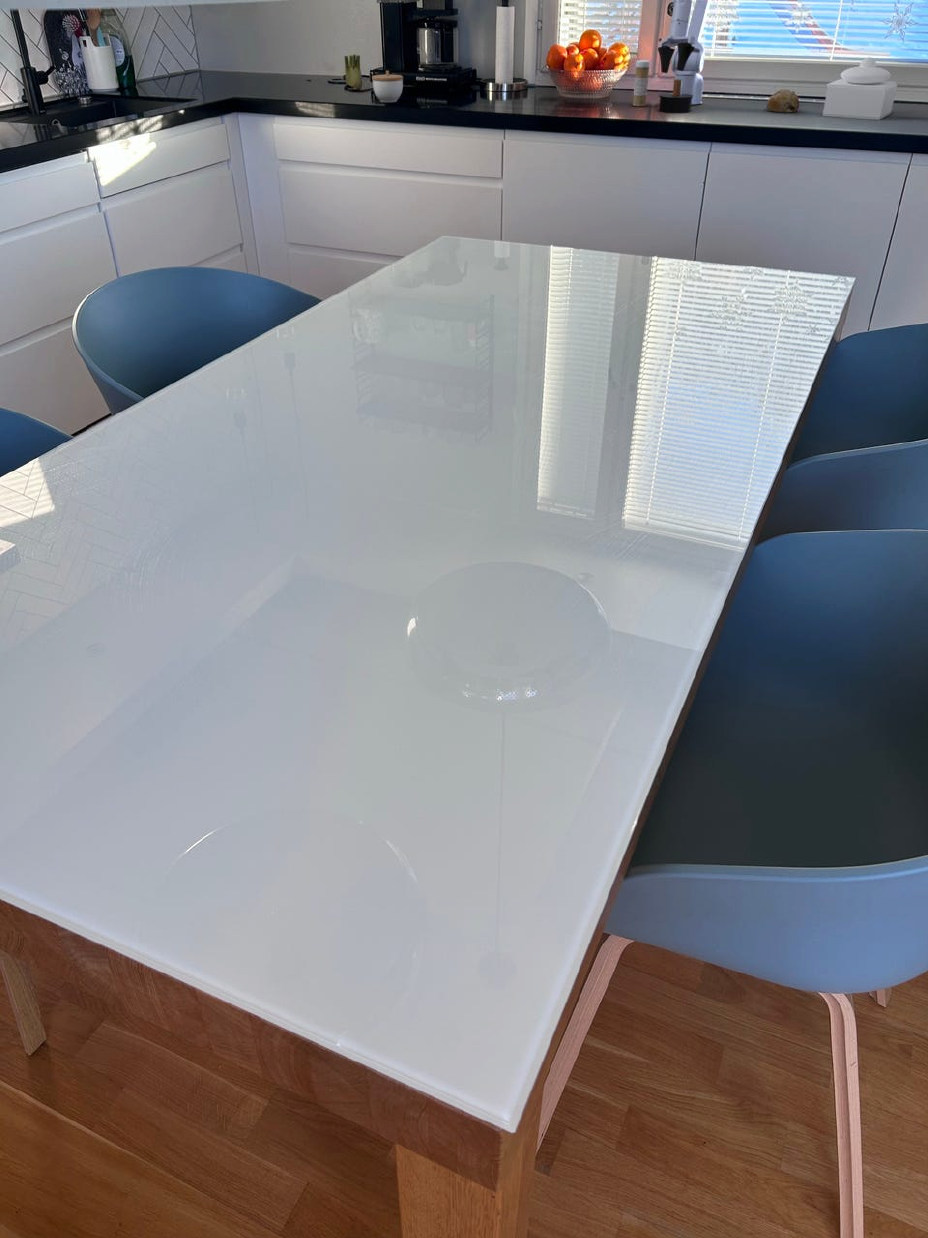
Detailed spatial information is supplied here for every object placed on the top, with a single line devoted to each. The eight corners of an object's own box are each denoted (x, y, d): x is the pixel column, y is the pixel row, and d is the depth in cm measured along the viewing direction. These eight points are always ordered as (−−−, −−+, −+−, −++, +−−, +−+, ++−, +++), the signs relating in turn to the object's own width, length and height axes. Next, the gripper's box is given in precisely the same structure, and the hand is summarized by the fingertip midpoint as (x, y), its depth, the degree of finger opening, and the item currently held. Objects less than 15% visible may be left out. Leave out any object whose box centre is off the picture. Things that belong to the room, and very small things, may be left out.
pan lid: (669, 96, 317) (671, 76, 314) (699, 98, 312) (701, 79, 308) (652, 99, 310) (654, 79, 307) (682, 101, 305) (684, 82, 301)
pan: (668, 107, 319) (670, 94, 316) (696, 110, 313) (697, 96, 311) (653, 110, 312) (654, 97, 310) (680, 113, 307) (682, 99, 305)
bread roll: (774, 125, 310) (786, 101, 303) (757, 106, 314) (768, 82, 307) (797, 122, 313) (809, 99, 307) (780, 104, 318) (791, 80, 311)
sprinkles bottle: (638, 104, 325) (642, 59, 318) (648, 105, 323) (653, 60, 315) (629, 105, 323) (633, 60, 315) (639, 107, 320) (643, 61, 312)
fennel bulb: (345, 91, 360) (343, 54, 353) (349, 89, 364) (346, 53, 357) (360, 91, 359) (358, 54, 352) (363, 89, 363) (361, 53, 356)
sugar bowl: (404, 98, 340) (403, 68, 335) (403, 102, 331) (402, 72, 326) (374, 99, 340) (372, 69, 335) (372, 103, 331) (371, 72, 326)
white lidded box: (879, 119, 294) (892, 60, 285) (820, 115, 302) (831, 57, 293) (891, 112, 306) (904, 56, 297) (834, 109, 314) (845, 53, 305)
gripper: (655, 22, 305) (648, 70, 310) (686, 17, 294) (678, 66, 299) (671, 27, 309) (664, 74, 314) (703, 22, 297) (694, 71, 302)
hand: (672, 71), depth 306 cm, fingers open, 7 cm apart
